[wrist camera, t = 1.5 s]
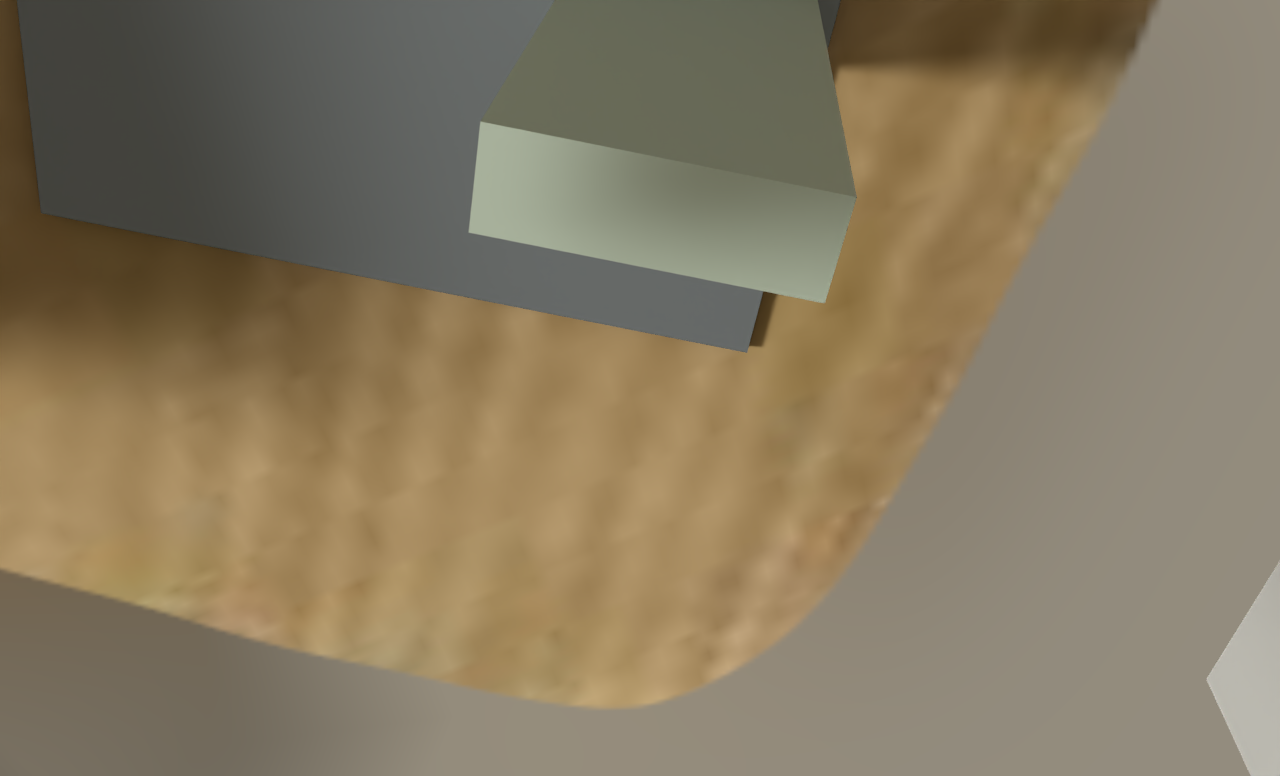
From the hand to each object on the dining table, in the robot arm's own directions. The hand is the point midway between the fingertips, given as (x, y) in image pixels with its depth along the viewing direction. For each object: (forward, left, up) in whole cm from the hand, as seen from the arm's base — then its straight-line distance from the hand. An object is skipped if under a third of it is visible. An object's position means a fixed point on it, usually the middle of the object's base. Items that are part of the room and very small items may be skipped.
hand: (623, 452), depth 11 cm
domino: (0, 0, -16) cm, 16 cm away
